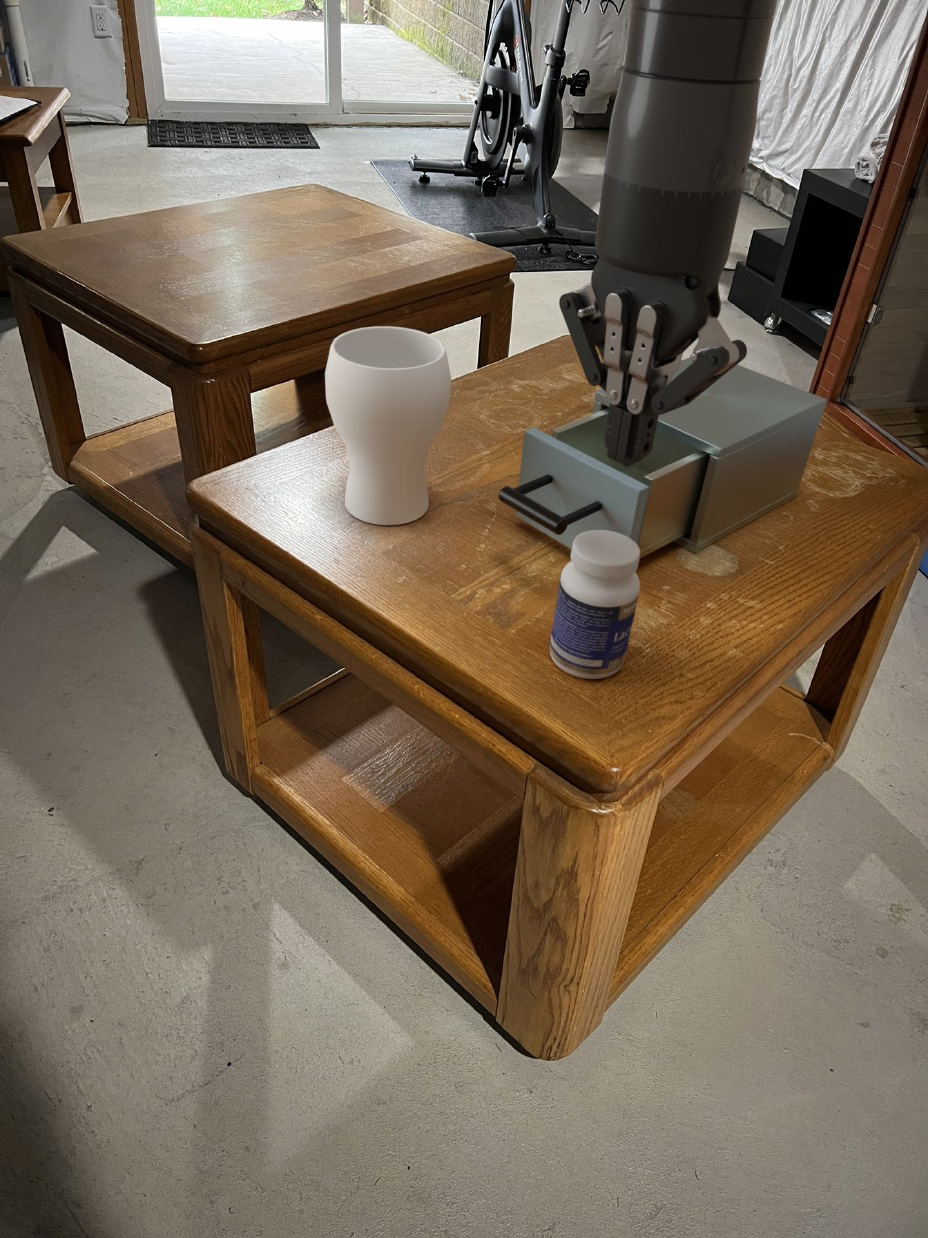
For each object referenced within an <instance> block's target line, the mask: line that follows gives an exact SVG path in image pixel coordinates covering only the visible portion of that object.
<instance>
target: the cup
mask: <svg viewBox="0 0 928 1238" xmlns="http://www.w3.org/2000/svg"><path fill="white" fill-rule="evenodd" d="M326 361H327V363H326V365H325V366H326V367H325V370H324V371H325V372H324V384H325V385H324V387H325V400H326V405H327V407H328V411H329V414H330V417H331V419H332V423H333V425H334V427H335V429H336V431H337V433H338V434H339V436H340V438H341V440H342V441H343V443H344V445H345V446H346V452H347V459H348V465H349V469H348V470H349V471H348V476H347V482H346V487H345V496H344V507H345V509H346V511H347V512H348V514H350V515H351V516H353V517H354V518H356V519H357V520H360V521H363V522H364V523H369V524H372V525H378V526H379V525H380V526H397V525H398V526H399V525H403V524H408V523H410V522H411V523H412V522H413V521H417V520H418V519H419V518H421V517H422V516H425V514H426V513H427V512H428V509H429V505H430V500H429V490H428V484H427V478H426V477H427V476H426V470H425V469H426V464H427V459H428V455H429V454H428V453H429V449H430V447H431V445H432V443H433V442H434V440H435V439H436V437H437V435H438V434H439V433H440V431H441V428H442V426H443V423H444V420H445V417H446V415H447V412H448V409H449V405H450V401H451V389H452V388H451V387H452V375H451V370H450V365H449V359H448V353H447V348H446V347H445V345H444V343H443V341H441V340H440V339H439V338H437V337H435V336H433V335H431V334H429V333H428V332H424V331H421V330H418V329H413V328H407V327H402V326H401V327H400V326H387V325H384V326H383V325H382V326H381V325H380V326H379V325H377V326H367V327H359V328H356V329H351V330H348V331H346V332H344V333H340V335H338V336H337V337H335V338H334V339H333V340H332V342H331V344H330V348H329V353H328V356H327V360H326Z"/></svg>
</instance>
